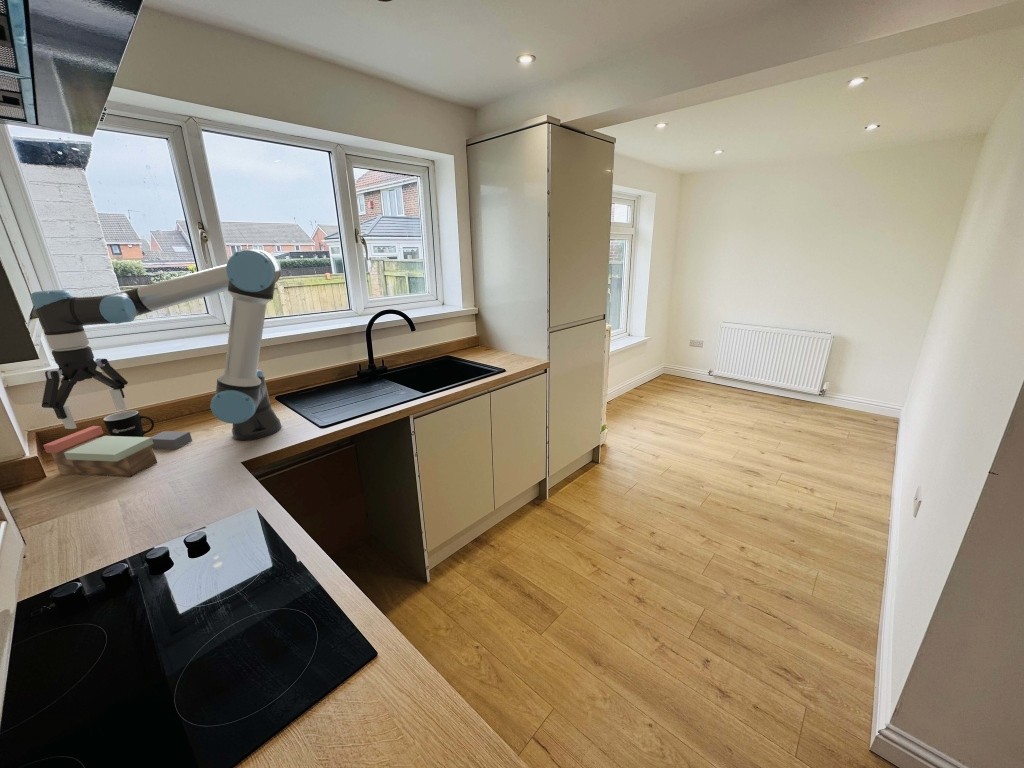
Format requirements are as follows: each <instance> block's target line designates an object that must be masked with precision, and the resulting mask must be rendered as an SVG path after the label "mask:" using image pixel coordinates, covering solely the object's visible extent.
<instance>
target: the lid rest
mask: <svg viewBox="0 0 1024 768" xmlns="http://www.w3.org/2000/svg"><path fill="white" fill-rule="evenodd" d="M151 437H152V440H153V443H154V444H152V445H150V446H152V449H158V450H159V449H161V450H178V449H180V448H182V447H184V446H185V445H188V444H189V443H191V442H193V438H192V435H191V432H190V431H172V430H171V431H170V430H169V431H168V430H163V431H162V432H159V433H156V434H155V435H152V436H151Z"/></svg>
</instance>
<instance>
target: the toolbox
mask: <svg viewBox="0 0 1024 768" xmlns="http://www.w3.org/2000/svg"><path fill="white" fill-rule="evenodd" d="M98 438H99V437H94V438H91V439H89V440H86V441H84V442H82V443H79V444H77V445H74V446H72V447H69V448H67V449H65V450H62V451H60V452H57V453H50V454H51V456H52V458H53V461H54V463H55V465H56V466H57V467H56V468H57V469H58V471H59V474H60V475H70V476H71V475H74V476H94V477H115V478H118V477H119V478H132V477H135V476H136V475H137V474H140V473H141V472H143V471H145V470H147V469H149V468H150V467H152V466H154V465H156V464H158V460H157V458H156V454H155V452H154V448H152V446H148V447H146V448H144V449H142V450H140V451H138V452H136V453H134V454H132V455H130V456H127V457H125V458H123V459H121V460H119V461H92V460H67V459H66V457H65V454H64V453H65V452H67V451H69V450H72V449H74V448H77V447H79V446H81V445H84V444H86V443H88V442H91V441H93V440H96V439H98Z"/></svg>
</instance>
